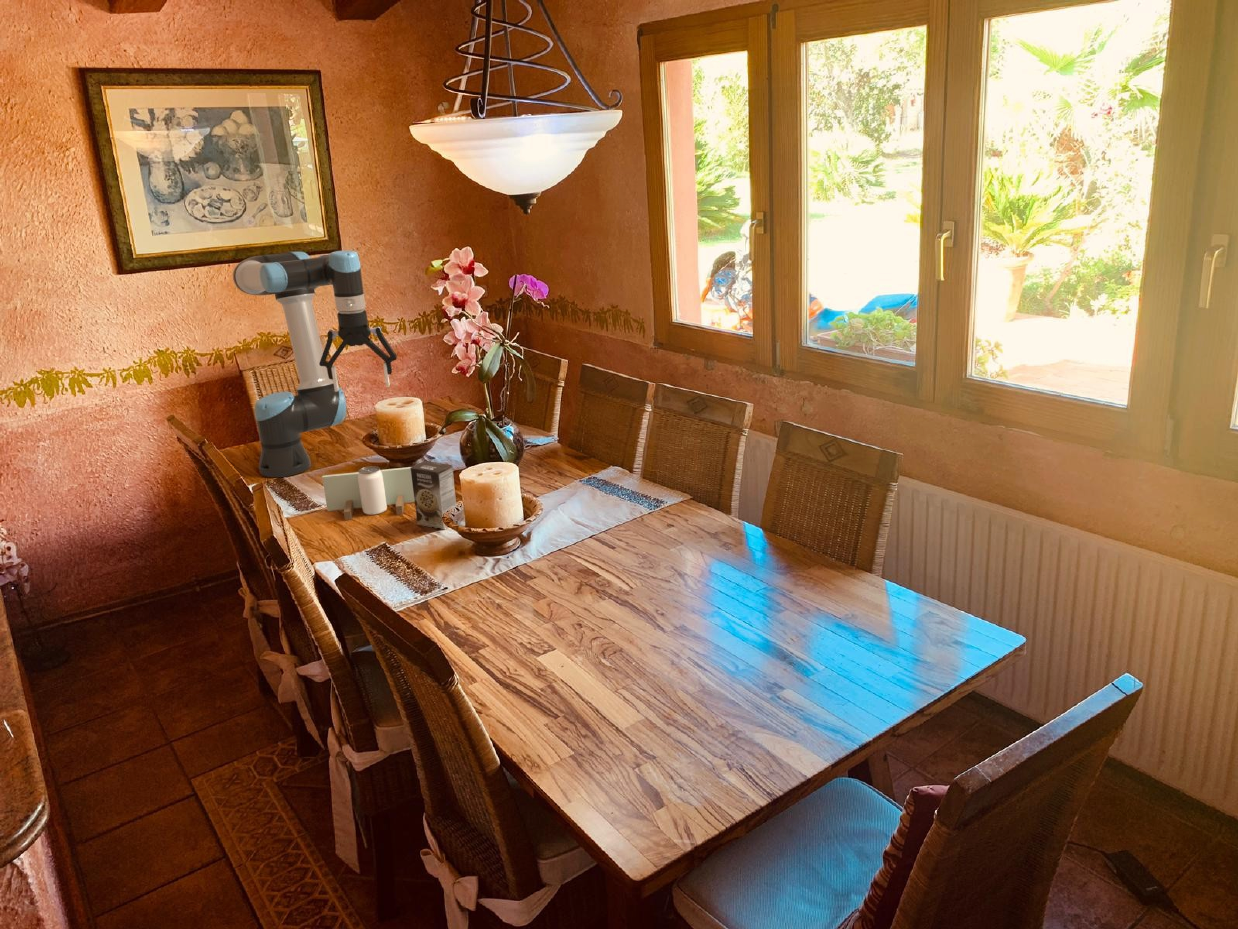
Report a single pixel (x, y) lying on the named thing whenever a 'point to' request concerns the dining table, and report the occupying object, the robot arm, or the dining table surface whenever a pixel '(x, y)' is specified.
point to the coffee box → (433, 492)
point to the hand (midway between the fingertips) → (362, 388)
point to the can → (372, 490)
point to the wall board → (347, 494)
